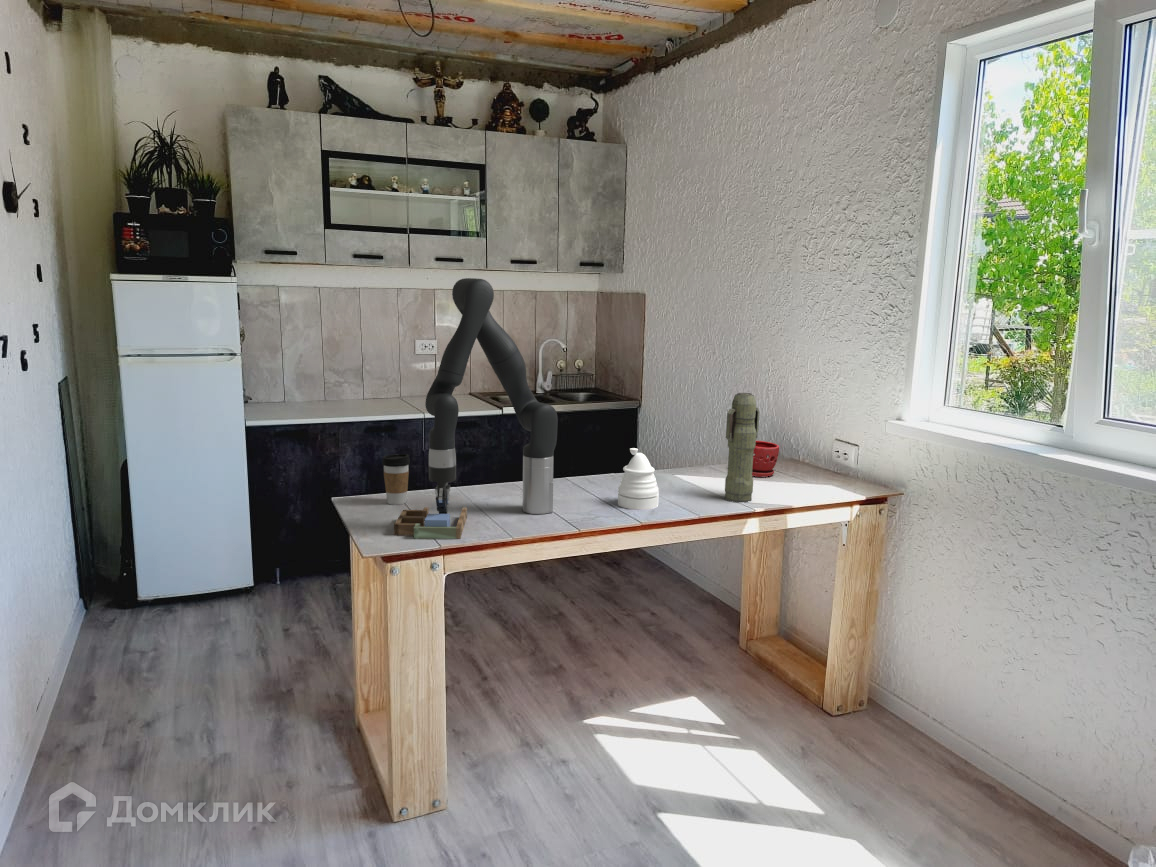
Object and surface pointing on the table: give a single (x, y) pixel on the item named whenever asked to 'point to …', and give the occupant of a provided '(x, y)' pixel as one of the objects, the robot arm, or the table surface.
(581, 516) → the table surface
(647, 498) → the honey pot
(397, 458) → the coffee cup
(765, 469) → the plant pot
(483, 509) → the table surface
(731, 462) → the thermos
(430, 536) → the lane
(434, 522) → the block
